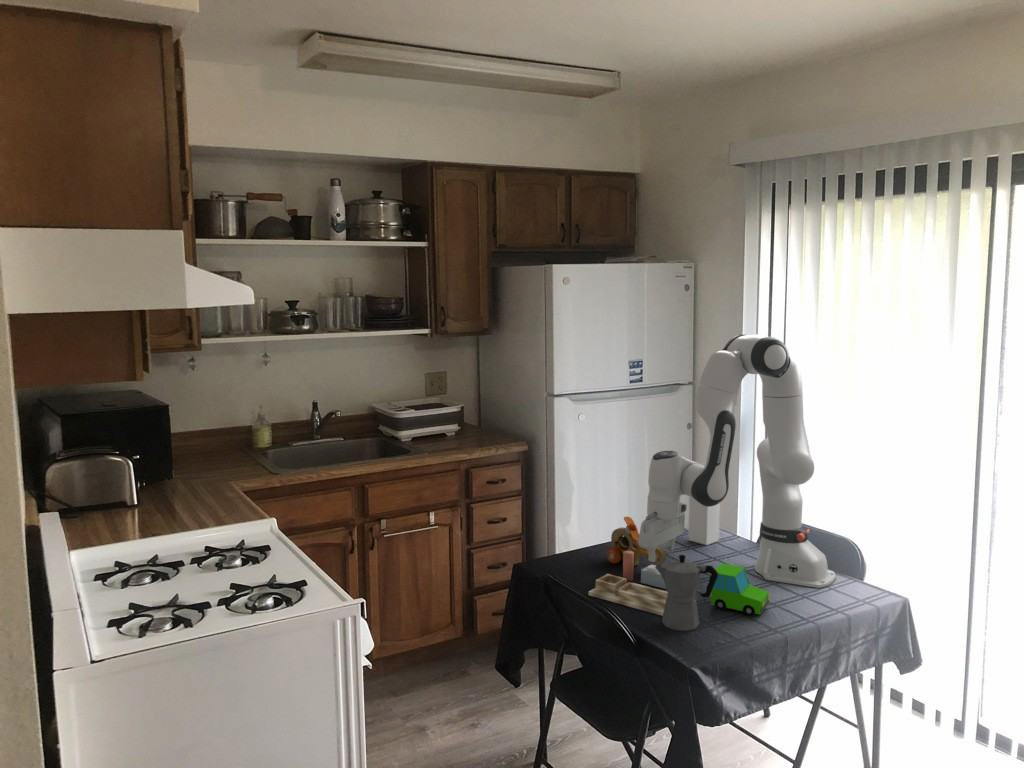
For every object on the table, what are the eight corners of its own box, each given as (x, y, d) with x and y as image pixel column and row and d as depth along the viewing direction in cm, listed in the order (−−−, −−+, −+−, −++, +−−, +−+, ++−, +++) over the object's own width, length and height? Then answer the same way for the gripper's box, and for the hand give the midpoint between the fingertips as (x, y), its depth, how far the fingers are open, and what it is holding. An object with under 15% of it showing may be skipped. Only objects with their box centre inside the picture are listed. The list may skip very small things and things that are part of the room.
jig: (685, 601, 227) (685, 589, 226) (663, 616, 217) (663, 603, 217) (611, 582, 241) (611, 570, 240) (588, 595, 231) (588, 582, 231)
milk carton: (688, 540, 277) (689, 484, 274) (700, 536, 282) (702, 480, 279) (706, 545, 272) (708, 488, 269) (719, 541, 277) (720, 484, 274)
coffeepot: (653, 629, 209) (655, 560, 207) (654, 614, 218) (655, 547, 216) (717, 634, 207) (719, 563, 204) (715, 618, 216) (717, 550, 213)
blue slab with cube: (685, 588, 236) (686, 571, 236) (679, 593, 233) (679, 575, 232) (647, 579, 244) (647, 562, 243) (640, 583, 240) (641, 566, 240)
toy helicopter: (622, 554, 264) (622, 512, 262) (673, 573, 248) (674, 528, 246) (603, 560, 259) (604, 517, 257) (654, 579, 243) (655, 533, 241)
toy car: (760, 621, 214) (761, 583, 213) (709, 609, 221) (710, 573, 220) (771, 607, 223) (772, 571, 222) (721, 597, 230) (723, 561, 229)
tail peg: (635, 578, 243) (635, 552, 242) (630, 581, 241) (630, 555, 240) (626, 576, 245) (626, 550, 244) (620, 579, 243) (621, 552, 242)
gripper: (654, 519, 225) (652, 569, 227) (689, 503, 241) (687, 550, 243) (634, 514, 229) (632, 563, 231) (670, 499, 245) (667, 545, 247)
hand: (660, 556), depth 237 cm, fingers open, 8 cm apart
